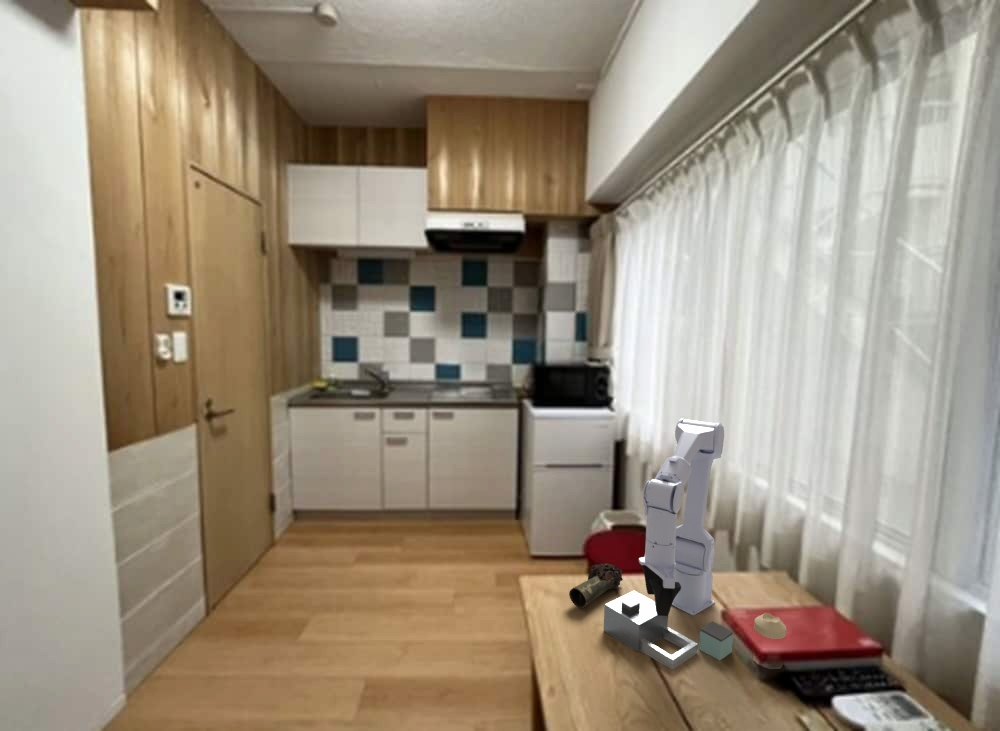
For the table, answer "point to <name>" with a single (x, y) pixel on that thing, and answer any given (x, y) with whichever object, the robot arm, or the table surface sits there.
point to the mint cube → (716, 640)
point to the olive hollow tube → (596, 584)
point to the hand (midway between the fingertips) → (657, 603)
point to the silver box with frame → (645, 629)
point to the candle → (770, 626)
